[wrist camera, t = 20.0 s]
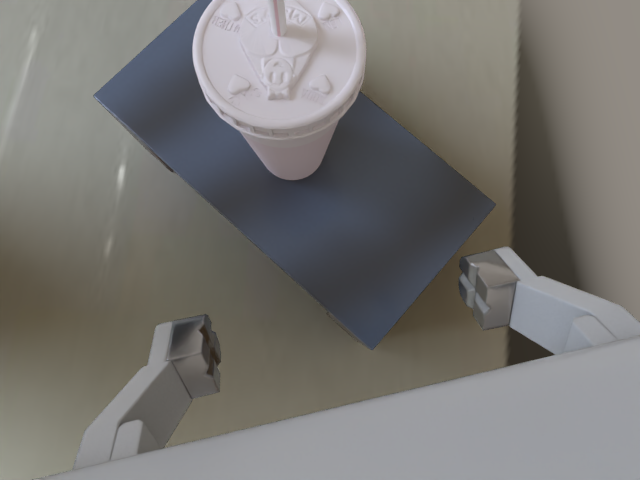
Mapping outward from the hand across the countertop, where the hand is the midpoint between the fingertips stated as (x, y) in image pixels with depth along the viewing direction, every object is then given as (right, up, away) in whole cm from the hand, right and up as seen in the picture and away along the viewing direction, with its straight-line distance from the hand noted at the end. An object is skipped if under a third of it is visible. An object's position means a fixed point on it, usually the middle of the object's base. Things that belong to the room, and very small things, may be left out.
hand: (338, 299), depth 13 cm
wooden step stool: (-2, +6, +19) cm, 20 cm away
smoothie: (-2, +7, +11) cm, 14 cm away
